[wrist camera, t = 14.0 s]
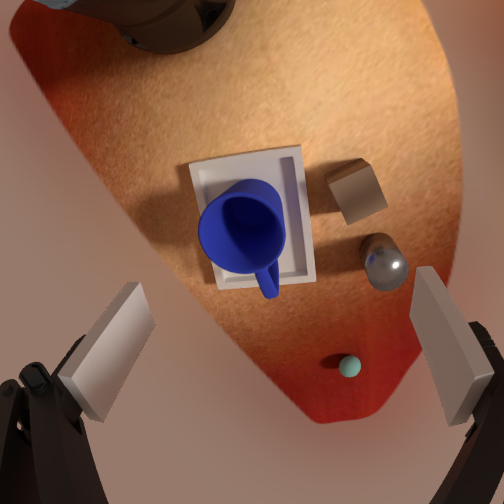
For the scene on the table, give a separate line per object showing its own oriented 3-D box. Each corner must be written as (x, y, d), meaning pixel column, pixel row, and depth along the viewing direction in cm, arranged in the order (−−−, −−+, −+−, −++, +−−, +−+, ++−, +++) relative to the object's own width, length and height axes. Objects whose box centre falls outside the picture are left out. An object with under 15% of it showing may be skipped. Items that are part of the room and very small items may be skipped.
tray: (193, 161, 37) (188, 164, 35) (300, 144, 35) (300, 146, 33) (221, 282, 44) (218, 289, 42) (315, 273, 42) (316, 281, 40)
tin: (358, 234, 39) (368, 255, 33) (395, 230, 38) (409, 250, 32) (359, 269, 41) (367, 293, 35) (394, 265, 40) (407, 288, 34)
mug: (248, 269, 42) (235, 314, 33) (209, 185, 38) (183, 211, 29) (308, 250, 40) (310, 293, 31) (273, 160, 36) (265, 178, 27)
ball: (338, 352, 47) (339, 367, 44) (359, 350, 47) (362, 365, 43) (338, 367, 49) (339, 382, 45) (358, 364, 48) (361, 380, 45)
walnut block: (324, 175, 36) (328, 184, 32) (361, 157, 35) (370, 165, 30) (341, 211, 38) (347, 225, 33) (377, 194, 36) (388, 206, 32)
